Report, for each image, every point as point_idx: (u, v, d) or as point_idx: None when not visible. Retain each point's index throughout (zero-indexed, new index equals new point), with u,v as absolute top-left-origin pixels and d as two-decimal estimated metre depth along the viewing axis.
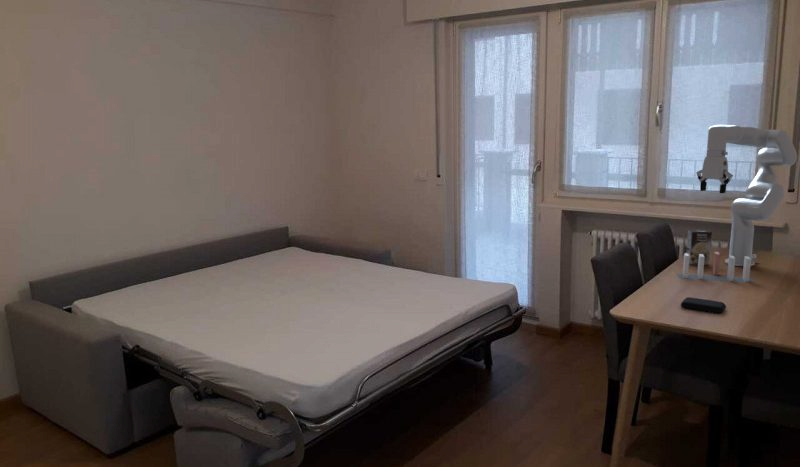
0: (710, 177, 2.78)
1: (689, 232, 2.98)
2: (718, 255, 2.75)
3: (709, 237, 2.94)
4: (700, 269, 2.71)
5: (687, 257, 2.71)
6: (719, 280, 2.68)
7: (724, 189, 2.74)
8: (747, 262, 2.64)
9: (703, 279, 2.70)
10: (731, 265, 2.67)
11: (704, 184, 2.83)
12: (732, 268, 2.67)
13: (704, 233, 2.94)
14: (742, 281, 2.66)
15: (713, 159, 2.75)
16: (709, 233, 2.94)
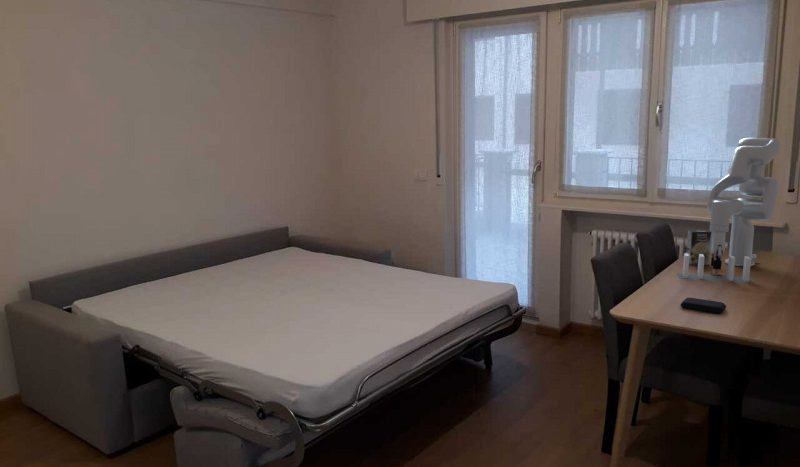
0: (722, 251, 2.76)
1: (689, 232, 2.98)
2: None
3: (709, 237, 2.94)
4: (700, 269, 2.71)
5: (687, 257, 2.71)
6: (719, 280, 2.68)
7: None
8: (747, 262, 2.64)
9: (703, 279, 2.70)
10: (731, 265, 2.67)
11: None
12: (732, 268, 2.67)
13: (704, 233, 2.94)
14: (742, 281, 2.66)
15: None
16: (709, 233, 2.94)
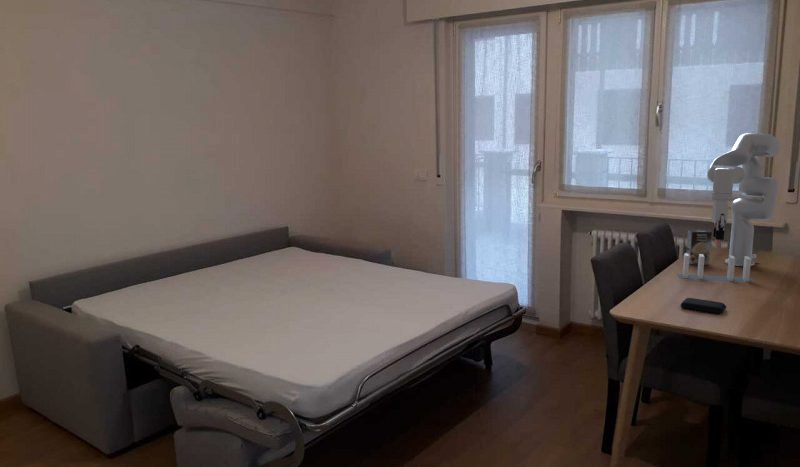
0: (725, 221, 2.66)
1: (689, 232, 2.98)
2: None
3: (709, 237, 2.94)
4: (700, 269, 2.71)
5: (687, 257, 2.71)
6: (719, 280, 2.68)
7: None
8: (747, 262, 2.64)
9: (703, 279, 2.70)
10: (731, 265, 2.67)
11: None
12: (732, 268, 2.67)
13: (704, 233, 2.94)
14: (742, 281, 2.66)
15: None
16: (709, 233, 2.94)
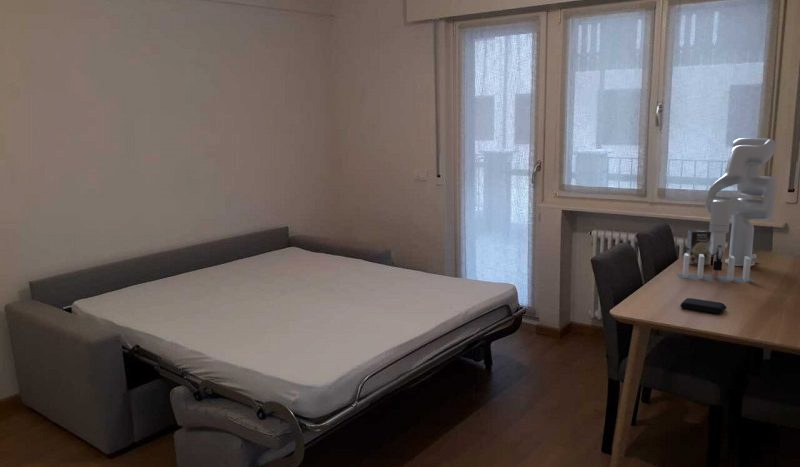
0: (722, 252, 2.69)
1: (689, 232, 2.98)
2: None
3: (709, 237, 2.94)
4: (700, 269, 2.71)
5: (687, 257, 2.71)
6: (719, 280, 2.68)
7: None
8: (747, 262, 2.64)
9: (703, 279, 2.70)
10: (731, 265, 2.67)
11: None
12: (732, 268, 2.67)
13: (704, 233, 2.94)
14: (742, 281, 2.66)
15: None
16: (709, 233, 2.94)
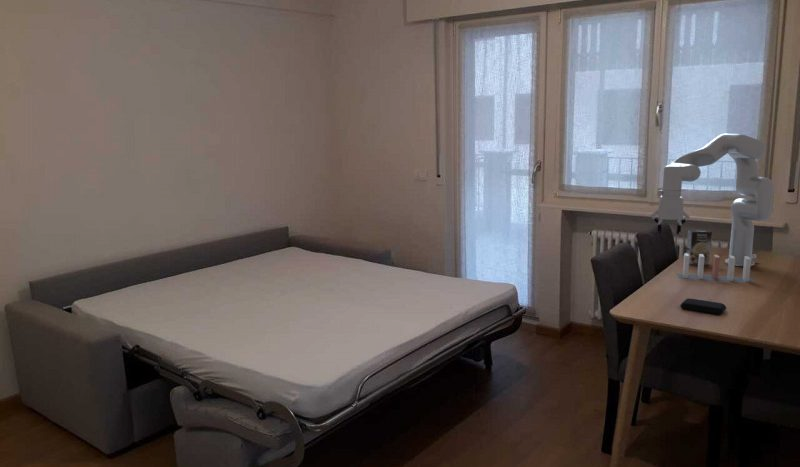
0: None
1: (689, 232, 2.98)
2: (718, 258, 2.68)
3: (709, 237, 2.94)
4: (700, 269, 2.71)
5: (687, 257, 2.71)
6: (719, 280, 2.68)
7: None
8: (747, 262, 2.64)
9: (703, 279, 2.70)
10: (731, 265, 2.67)
11: (677, 227, 2.73)
12: (732, 268, 2.67)
13: (704, 233, 2.94)
14: (742, 281, 2.66)
15: None
16: (709, 233, 2.94)
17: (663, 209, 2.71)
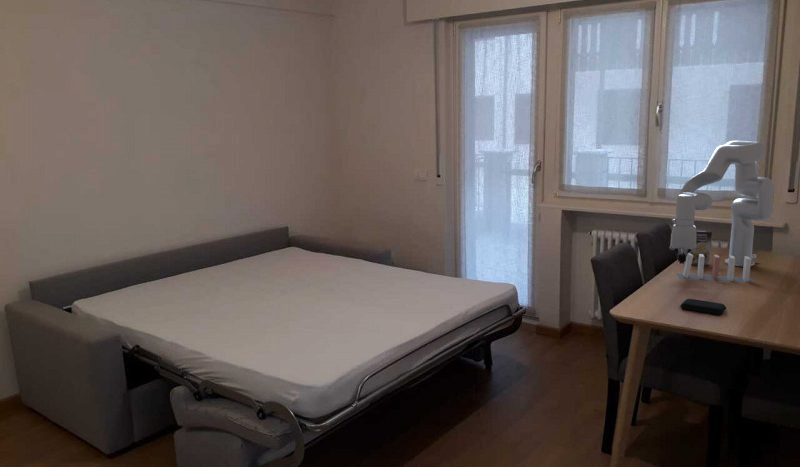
0: None
1: None
2: (718, 258, 2.68)
3: (709, 237, 2.94)
4: (700, 269, 2.71)
5: (691, 257, 2.71)
6: (719, 280, 2.68)
7: (678, 258, 2.75)
8: (747, 262, 2.64)
9: (703, 279, 2.70)
10: (731, 265, 2.67)
11: None
12: (732, 268, 2.67)
13: (704, 233, 2.94)
14: (742, 281, 2.66)
15: None
16: (709, 233, 2.94)
17: (676, 238, 2.71)
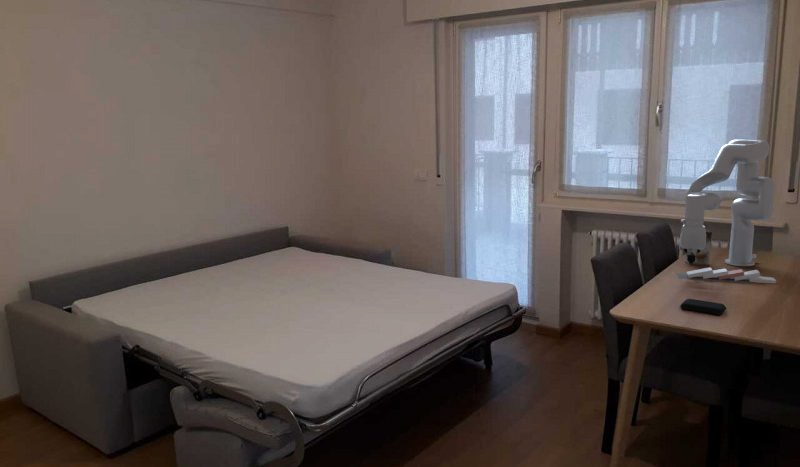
0: None
1: None
2: (742, 274, 2.66)
3: (709, 237, 2.94)
4: (713, 274, 2.70)
5: (711, 272, 2.70)
6: (719, 280, 2.68)
7: (687, 259, 2.74)
8: (772, 281, 2.63)
9: (703, 279, 2.70)
10: (751, 274, 2.65)
11: None
12: (748, 276, 2.65)
13: None
14: (742, 281, 2.66)
15: None
16: (709, 233, 2.94)
17: (685, 238, 2.70)
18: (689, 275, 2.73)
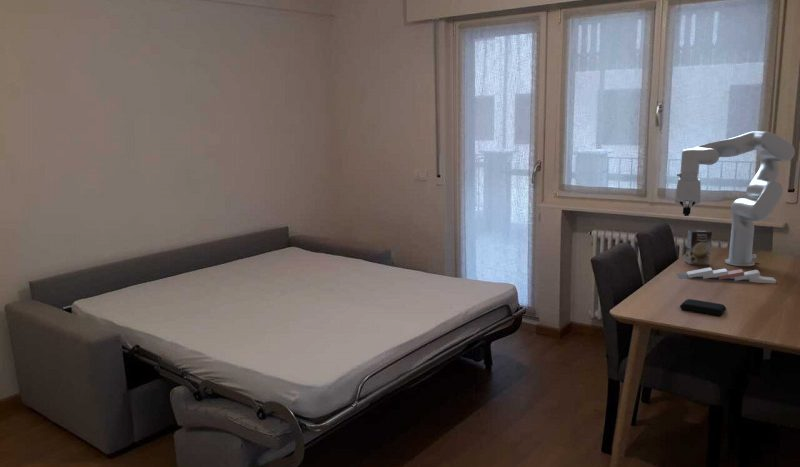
0: None
1: (689, 232, 2.98)
2: (742, 274, 2.66)
3: (709, 237, 2.94)
4: (713, 274, 2.70)
5: (711, 272, 2.70)
6: (719, 280, 2.68)
7: (683, 211, 2.87)
8: (772, 281, 2.63)
9: (703, 279, 2.70)
10: (751, 274, 2.65)
11: None
12: (748, 276, 2.65)
13: (704, 233, 2.94)
14: (742, 281, 2.66)
15: None
16: (709, 233, 2.94)
17: (681, 191, 2.82)
18: (689, 275, 2.73)
